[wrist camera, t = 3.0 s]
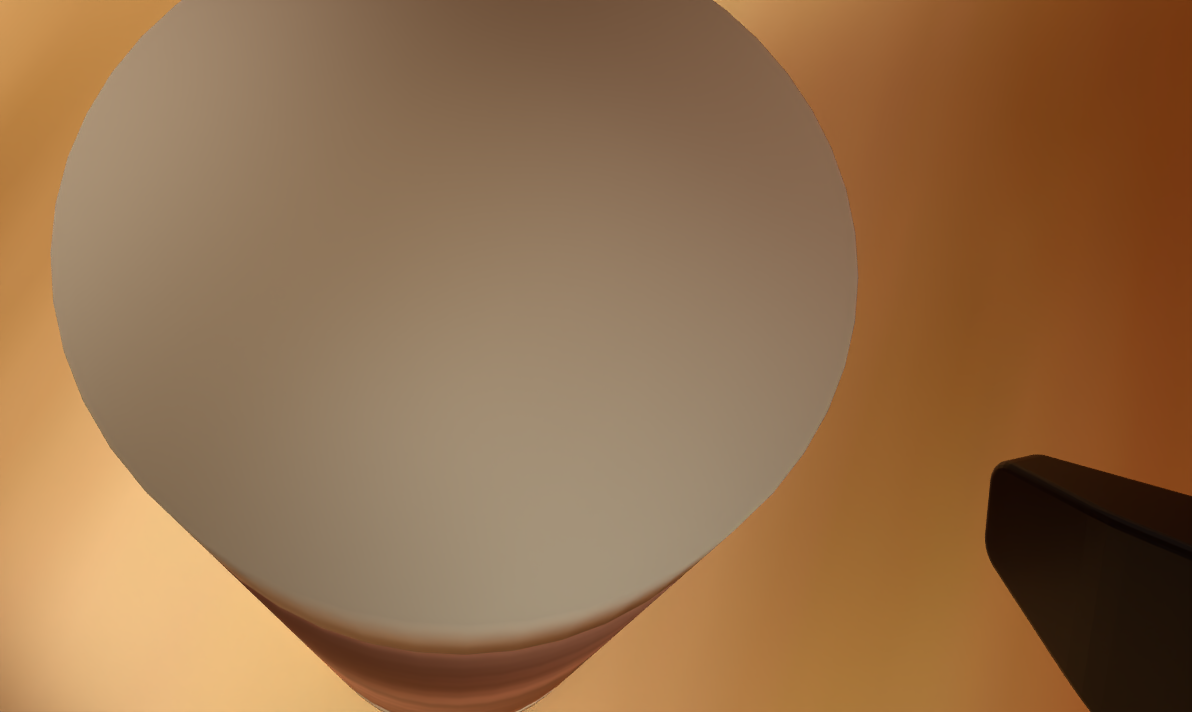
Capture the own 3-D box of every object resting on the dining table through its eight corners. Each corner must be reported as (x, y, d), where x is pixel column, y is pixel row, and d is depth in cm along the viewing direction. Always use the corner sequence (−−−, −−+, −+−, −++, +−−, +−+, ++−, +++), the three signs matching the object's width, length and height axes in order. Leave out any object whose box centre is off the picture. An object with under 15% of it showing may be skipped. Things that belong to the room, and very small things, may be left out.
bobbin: (641, 499, 19) (933, 70, 8) (538, 777, 17) (723, 767, 6) (386, 396, 19) (293, -183, 8) (255, 660, 17) (-134, 416, 6)
